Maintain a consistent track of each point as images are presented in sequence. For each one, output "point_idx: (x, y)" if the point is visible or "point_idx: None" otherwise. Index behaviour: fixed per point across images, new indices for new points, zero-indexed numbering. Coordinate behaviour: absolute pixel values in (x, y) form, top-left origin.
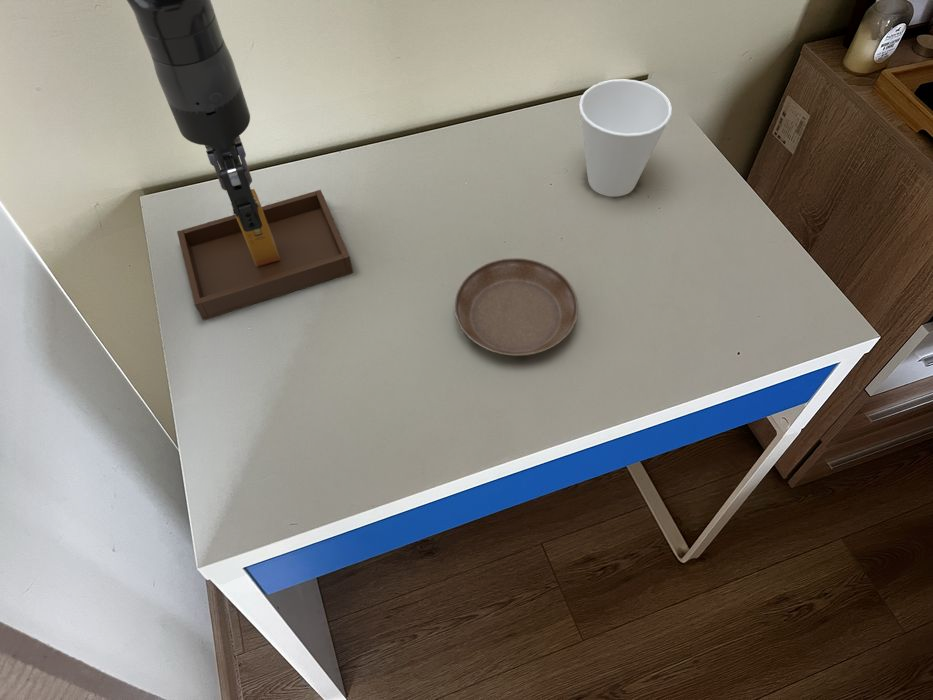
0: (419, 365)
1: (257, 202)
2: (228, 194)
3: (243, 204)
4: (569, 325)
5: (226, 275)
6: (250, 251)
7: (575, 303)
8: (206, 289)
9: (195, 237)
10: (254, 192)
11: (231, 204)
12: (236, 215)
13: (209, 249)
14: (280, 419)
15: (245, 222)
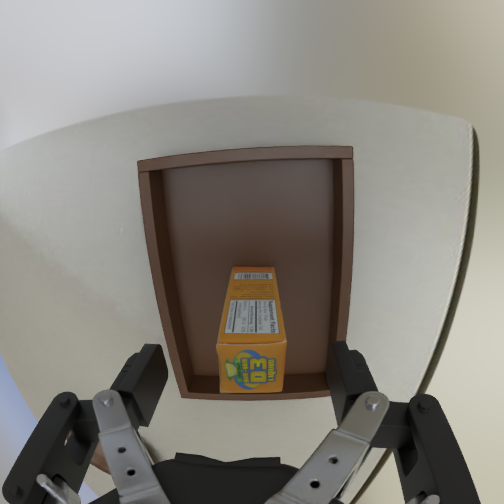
0: (65, 376)
1: (223, 392)
2: (25, 446)
3: (71, 429)
4: (94, 461)
5: (231, 212)
6: (230, 281)
7: (109, 473)
8: (209, 173)
9: (337, 175)
10: (264, 392)
11: (100, 401)
12: (56, 397)
13: (311, 191)
14: (17, 245)
15: (121, 372)
